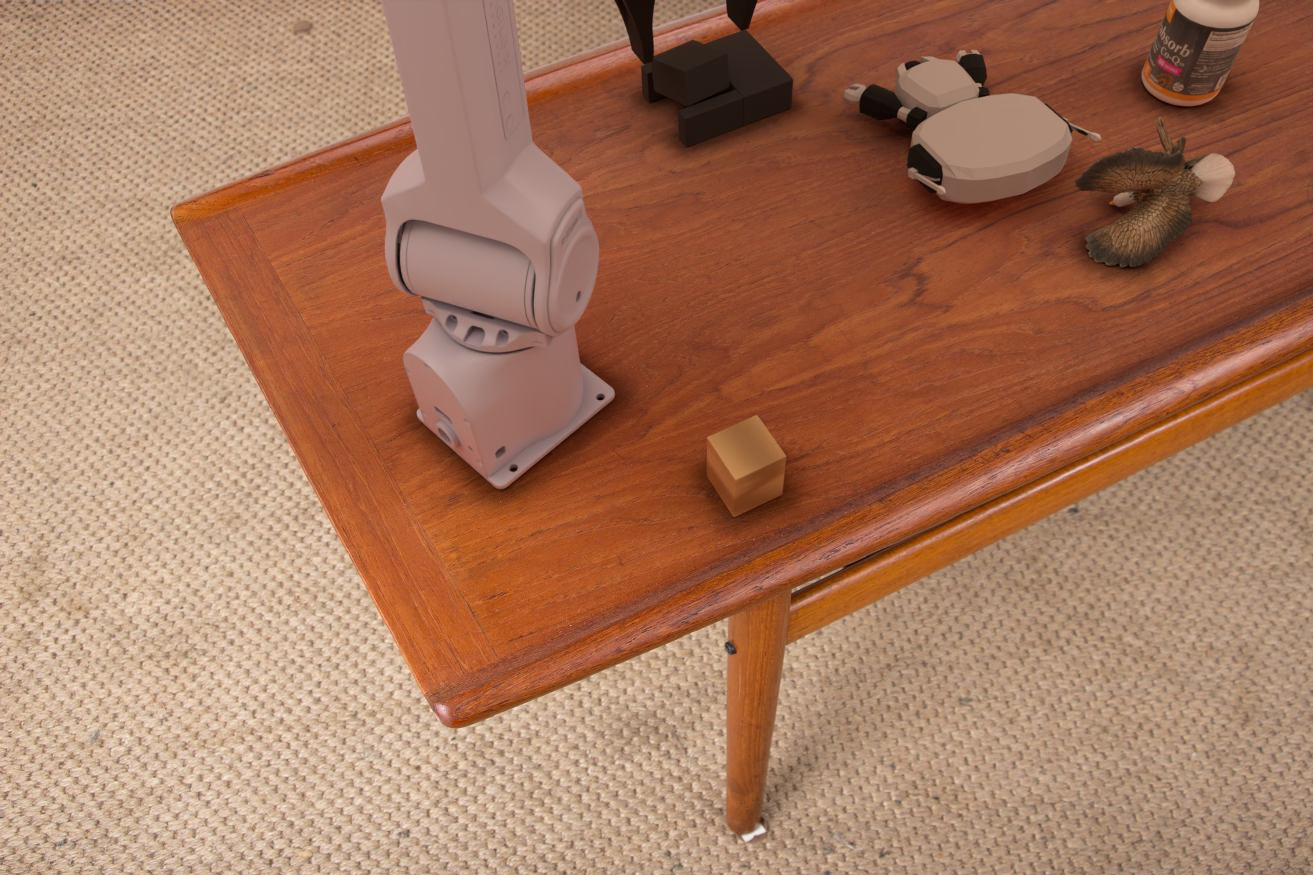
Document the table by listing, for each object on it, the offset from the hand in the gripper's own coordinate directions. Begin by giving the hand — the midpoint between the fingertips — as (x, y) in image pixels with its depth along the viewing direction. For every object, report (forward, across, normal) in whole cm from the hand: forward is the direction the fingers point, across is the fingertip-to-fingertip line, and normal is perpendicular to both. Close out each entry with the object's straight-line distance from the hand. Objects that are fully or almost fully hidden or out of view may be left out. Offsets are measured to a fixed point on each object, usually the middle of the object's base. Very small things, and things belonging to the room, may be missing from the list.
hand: (690, 39), depth 76 cm
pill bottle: (+6, -33, +15) cm, 37 cm away
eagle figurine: (+6, -20, +25) cm, 33 cm away
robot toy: (+6, -14, +13) cm, 21 cm away
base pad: (+6, -2, 0) cm, 6 cm away
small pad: (+4, 0, 0) cm, 4 cm away
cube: (+6, +13, +31) cm, 34 cm away
